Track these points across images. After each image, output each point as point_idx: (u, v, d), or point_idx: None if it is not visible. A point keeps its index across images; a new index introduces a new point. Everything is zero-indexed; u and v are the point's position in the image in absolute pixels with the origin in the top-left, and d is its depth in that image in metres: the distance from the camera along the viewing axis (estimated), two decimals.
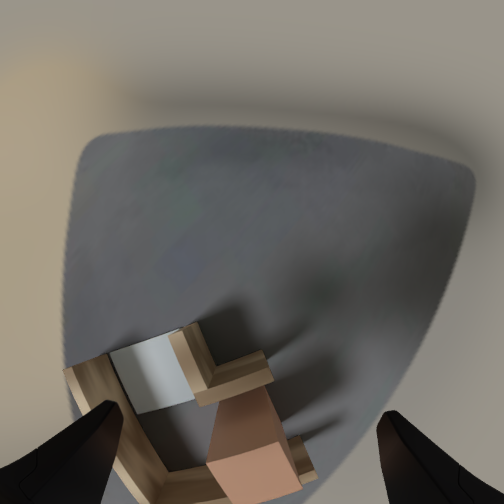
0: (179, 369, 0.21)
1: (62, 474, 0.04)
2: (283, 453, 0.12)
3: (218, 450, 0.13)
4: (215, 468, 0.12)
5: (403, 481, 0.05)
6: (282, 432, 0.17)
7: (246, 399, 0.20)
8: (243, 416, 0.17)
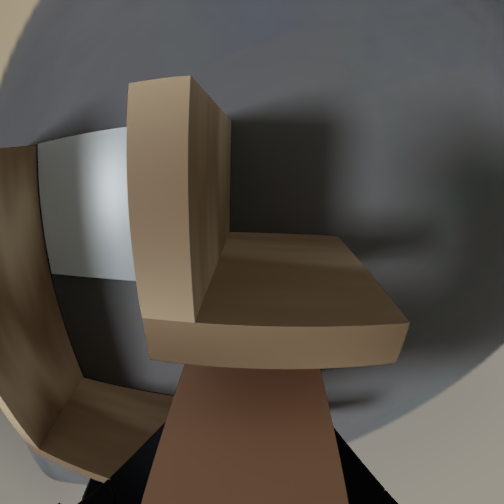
0: None
1: None
2: None
3: None
4: None
5: None
6: None
7: None
8: (256, 400, 0.07)
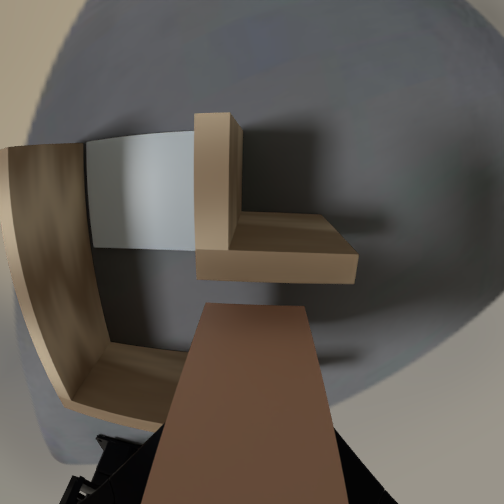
0: (182, 195, 0.14)
1: None
2: None
3: None
4: None
5: None
6: None
7: (265, 331, 0.10)
8: (256, 400, 0.07)
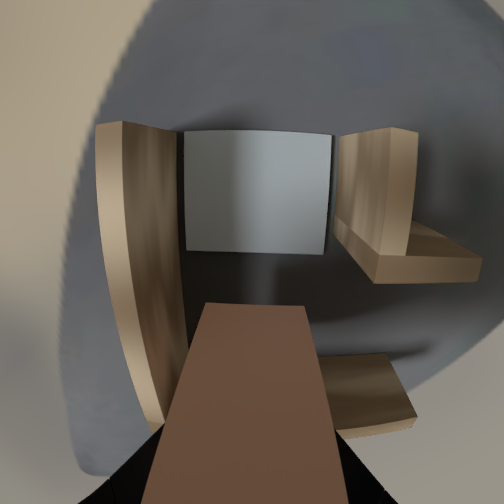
0: (300, 198, 0.14)
1: None
2: None
3: None
4: None
5: None
6: None
7: (265, 331, 0.10)
8: (256, 399, 0.07)
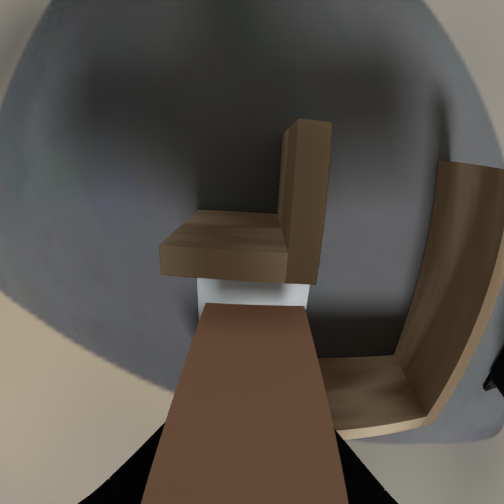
0: None
1: None
2: None
3: None
4: None
5: None
6: None
7: (265, 331, 0.10)
8: (256, 399, 0.07)
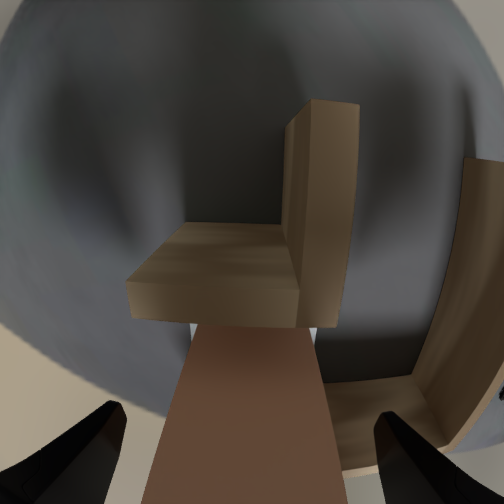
0: None
1: (65, 476, 0.04)
2: None
3: (177, 484, 0.04)
4: None
5: (400, 482, 0.05)
6: None
7: None
8: (256, 373, 0.08)
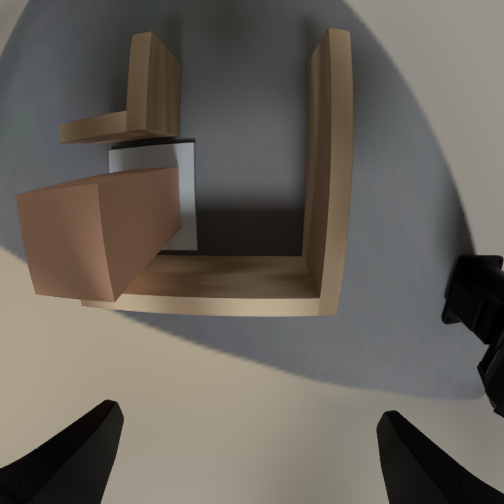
0: (151, 166, 0.17)
1: (62, 474, 0.04)
2: (99, 212, 0.08)
3: (44, 188, 0.09)
4: (22, 207, 0.08)
5: (403, 481, 0.05)
6: (160, 225, 0.14)
7: (144, 169, 0.15)
8: (115, 174, 0.12)
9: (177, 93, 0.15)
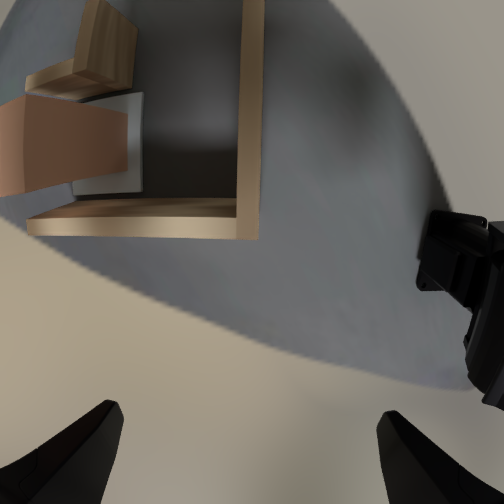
0: None
1: (62, 474, 0.04)
2: (24, 115, 0.07)
3: None
4: None
5: (403, 481, 0.05)
6: (96, 155, 0.13)
7: None
8: None
9: (131, 51, 0.14)
